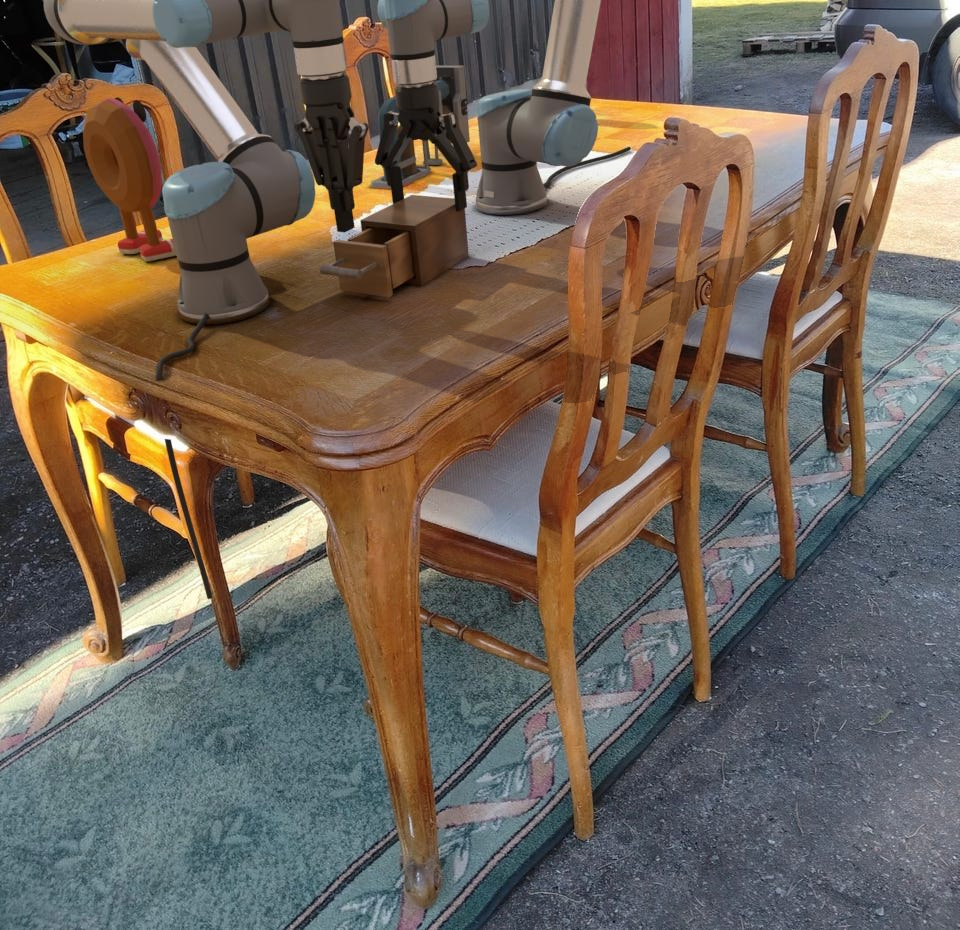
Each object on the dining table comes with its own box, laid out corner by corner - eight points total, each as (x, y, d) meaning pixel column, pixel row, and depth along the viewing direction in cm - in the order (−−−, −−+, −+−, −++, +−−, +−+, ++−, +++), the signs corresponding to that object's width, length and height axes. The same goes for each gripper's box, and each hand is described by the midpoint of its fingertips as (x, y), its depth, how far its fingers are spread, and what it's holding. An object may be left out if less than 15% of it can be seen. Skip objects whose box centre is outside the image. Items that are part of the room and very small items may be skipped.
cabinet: (421, 285, 169) (414, 225, 163) (368, 278, 174) (360, 220, 169) (468, 256, 181) (464, 199, 175) (417, 250, 186) (411, 194, 181)
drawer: (368, 310, 158) (361, 259, 153) (319, 302, 163) (310, 252, 158) (436, 268, 173) (431, 220, 169) (389, 262, 178) (383, 216, 173)
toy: (203, 253, 194) (168, 96, 179) (158, 268, 188) (118, 106, 172) (148, 236, 207) (111, 88, 192) (105, 250, 201) (62, 98, 186)
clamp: (398, 189, 225) (386, 93, 214) (367, 187, 229) (354, 92, 218) (470, 153, 251) (464, 65, 240) (441, 151, 255) (433, 65, 244)
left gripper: (373, 71, 144) (392, 226, 156) (305, 70, 151) (328, 219, 163) (342, 80, 139) (364, 240, 151) (273, 79, 145) (300, 232, 157)
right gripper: (490, 79, 162) (499, 205, 173) (369, 78, 174) (385, 195, 185) (467, 89, 157) (478, 217, 168) (344, 86, 168) (362, 207, 179)
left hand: (346, 229), depth 157 cm, fingers closed
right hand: (429, 206), depth 176 cm, fingers open, 13 cm apart
